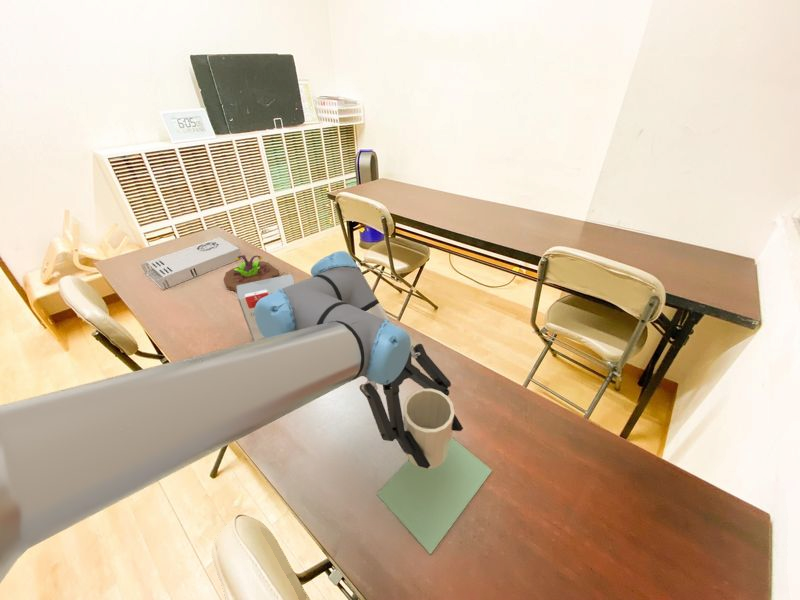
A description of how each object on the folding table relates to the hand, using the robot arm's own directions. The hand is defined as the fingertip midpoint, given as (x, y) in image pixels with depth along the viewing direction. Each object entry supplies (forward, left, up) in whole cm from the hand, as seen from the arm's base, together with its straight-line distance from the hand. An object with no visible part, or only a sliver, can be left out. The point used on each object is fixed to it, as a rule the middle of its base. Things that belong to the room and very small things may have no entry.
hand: (441, 446), depth 56 cm
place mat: (+1, +1, -15) cm, 15 cm away
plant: (+10, +105, -15) cm, 106 cm away
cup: (0, +3, -4) cm, 5 cm away
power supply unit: (-2, +133, -15) cm, 134 cm away
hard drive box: (+1, +64, -15) cm, 66 cm away
